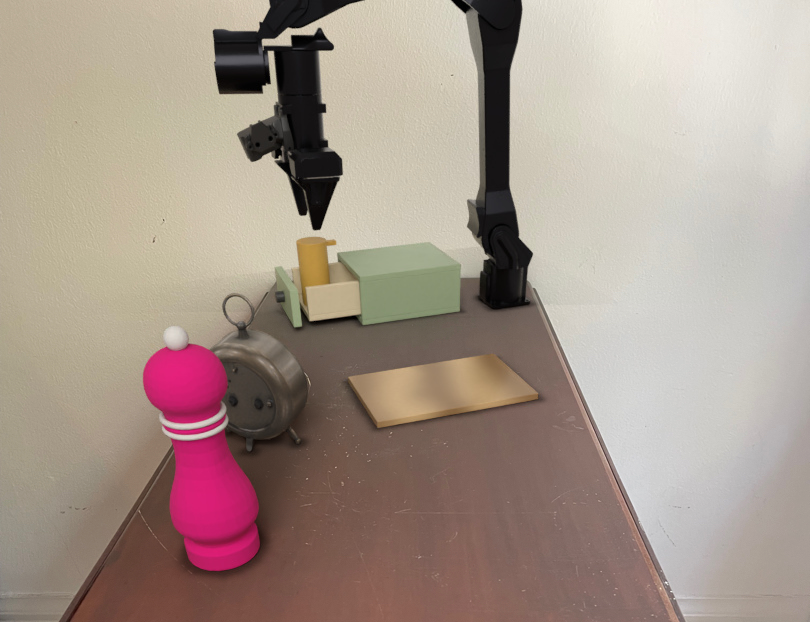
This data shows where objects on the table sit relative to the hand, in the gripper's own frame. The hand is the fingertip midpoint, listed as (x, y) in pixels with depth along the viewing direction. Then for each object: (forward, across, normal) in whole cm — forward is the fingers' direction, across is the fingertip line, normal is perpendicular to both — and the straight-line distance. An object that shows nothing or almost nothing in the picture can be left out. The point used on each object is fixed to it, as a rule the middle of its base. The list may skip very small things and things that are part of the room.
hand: (309, 222), depth 100 cm
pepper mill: (+14, +55, -21) cm, 60 cm away
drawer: (+12, 0, +2) cm, 13 cm away
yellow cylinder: (+11, 0, 0) cm, 11 cm away
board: (+13, +32, +8) cm, 36 cm away
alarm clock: (+14, +37, -15) cm, 42 cm away
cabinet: (+13, 0, +13) cm, 19 cm away
